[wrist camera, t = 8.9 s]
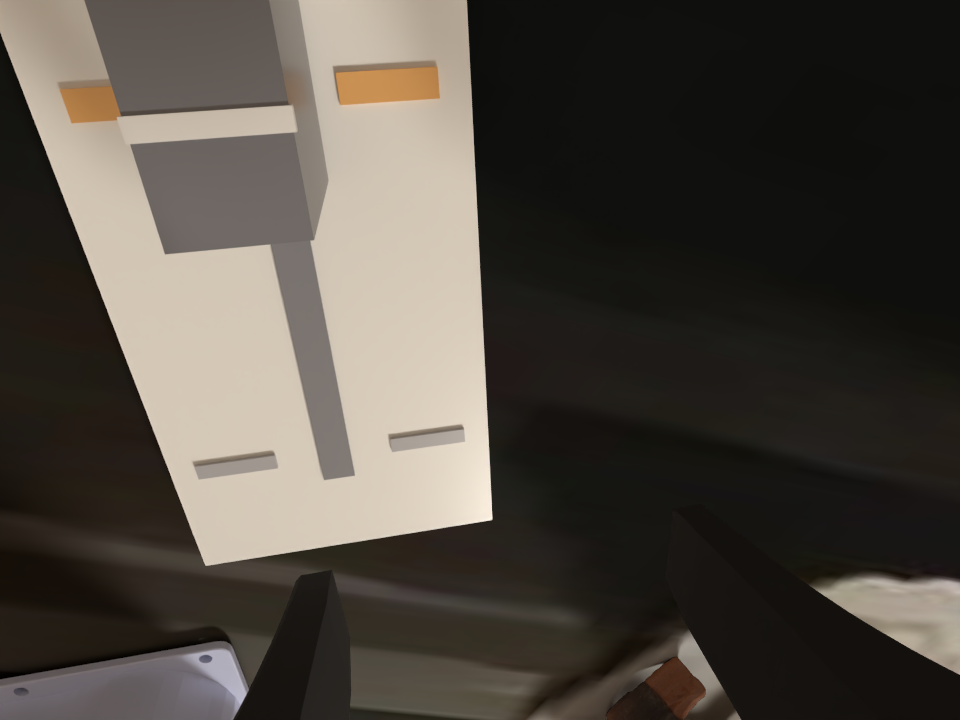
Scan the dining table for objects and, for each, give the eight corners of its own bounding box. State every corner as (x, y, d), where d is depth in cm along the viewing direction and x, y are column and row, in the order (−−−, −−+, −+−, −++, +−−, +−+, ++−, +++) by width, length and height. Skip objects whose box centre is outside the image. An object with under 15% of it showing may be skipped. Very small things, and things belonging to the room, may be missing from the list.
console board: (218, 524, 22) (204, 568, 20) (-82, -325, 11) (-169, -395, 10) (482, 483, 23) (492, 522, 21) (436, -315, 13) (449, -375, 11)
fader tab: (222, 189, 14) (161, 255, 10) (173, -2, 12) (71, -24, 8) (330, 180, 15) (317, 240, 10) (299, -8, 13) (266, -31, 8)
